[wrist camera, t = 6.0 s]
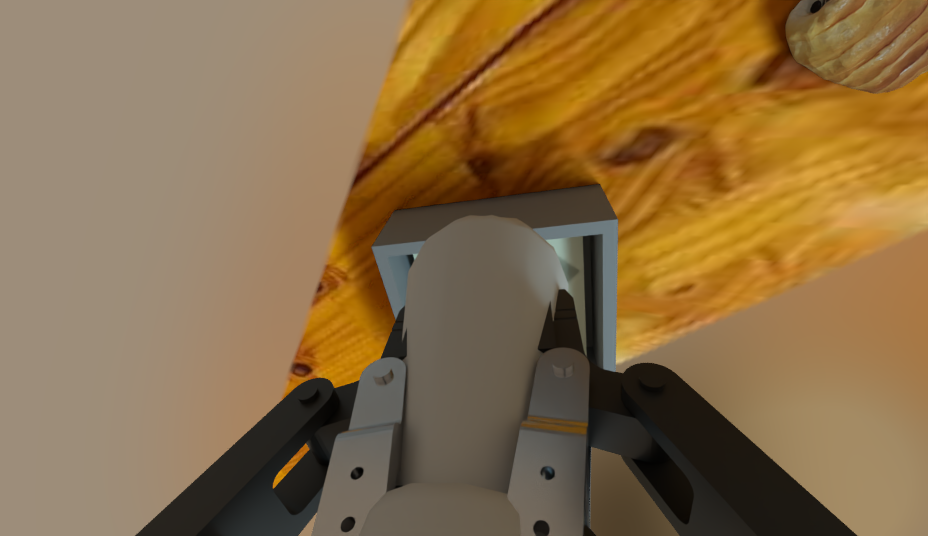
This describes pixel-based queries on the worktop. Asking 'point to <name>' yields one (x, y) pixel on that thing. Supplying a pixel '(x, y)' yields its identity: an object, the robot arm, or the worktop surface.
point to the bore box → (557, 221)
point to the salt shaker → (468, 376)
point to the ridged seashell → (861, 41)
